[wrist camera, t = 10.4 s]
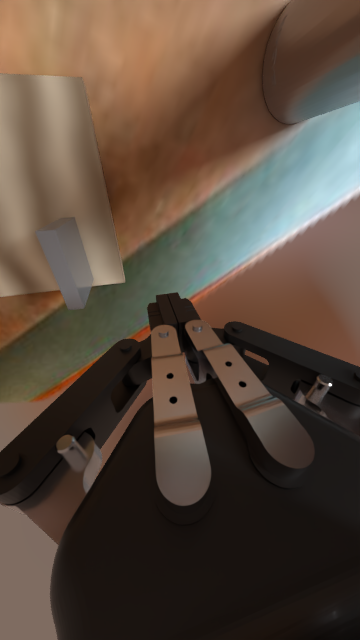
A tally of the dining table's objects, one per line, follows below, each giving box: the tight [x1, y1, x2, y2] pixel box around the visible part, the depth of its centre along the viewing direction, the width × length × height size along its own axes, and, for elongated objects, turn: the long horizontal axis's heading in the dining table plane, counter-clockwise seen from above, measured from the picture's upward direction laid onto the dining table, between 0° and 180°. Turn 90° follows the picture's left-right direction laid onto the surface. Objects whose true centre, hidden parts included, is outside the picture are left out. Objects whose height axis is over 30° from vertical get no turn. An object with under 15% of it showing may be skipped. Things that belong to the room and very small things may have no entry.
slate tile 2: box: [35, 217, 94, 310], centre depth 22 cm, size 2×8×8 cm, turn 2°
